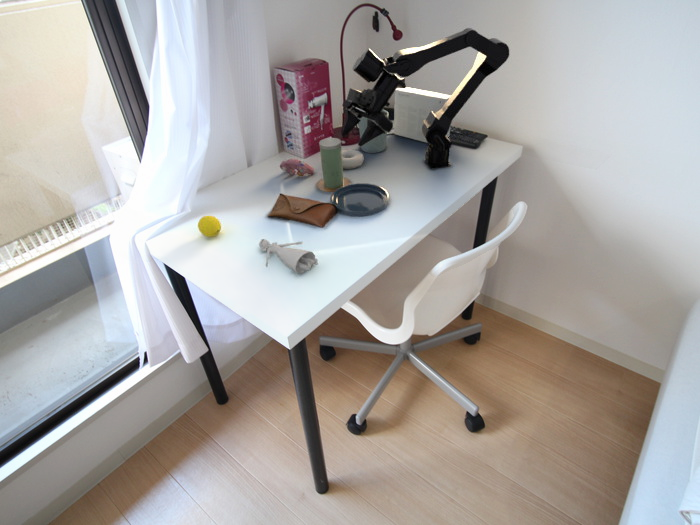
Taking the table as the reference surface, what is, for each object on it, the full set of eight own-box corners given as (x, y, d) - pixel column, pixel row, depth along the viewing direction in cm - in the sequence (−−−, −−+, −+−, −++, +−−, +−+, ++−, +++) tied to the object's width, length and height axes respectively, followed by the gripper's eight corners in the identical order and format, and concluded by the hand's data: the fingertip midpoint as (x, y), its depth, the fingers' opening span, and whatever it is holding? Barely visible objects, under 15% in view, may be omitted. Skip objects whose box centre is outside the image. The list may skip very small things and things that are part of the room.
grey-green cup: (357, 143, 154) (356, 109, 146) (385, 140, 154) (385, 107, 147) (361, 155, 145) (360, 119, 138) (391, 152, 146) (391, 116, 139)
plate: (380, 186, 127) (380, 179, 126) (395, 212, 115) (395, 206, 113) (327, 193, 125) (326, 187, 124) (336, 222, 113) (335, 215, 111)
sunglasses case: (264, 216, 116) (268, 191, 115) (278, 216, 122) (281, 193, 121) (324, 228, 110) (328, 202, 109) (335, 228, 116) (339, 203, 115)
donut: (362, 170, 136) (365, 157, 144) (362, 160, 134) (364, 147, 142) (331, 171, 137) (335, 157, 145) (330, 161, 135) (334, 147, 143)
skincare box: (450, 142, 150) (454, 95, 140) (441, 147, 147) (445, 99, 137) (402, 129, 162) (403, 85, 152) (393, 134, 159) (393, 89, 149)
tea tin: (342, 177, 132) (338, 136, 124) (346, 186, 127) (343, 144, 119) (322, 180, 131) (317, 139, 123) (325, 190, 126) (320, 147, 118)
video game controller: (283, 178, 138) (275, 164, 132) (288, 167, 140) (281, 152, 134) (311, 182, 135) (304, 168, 129) (316, 170, 137) (309, 156, 130)
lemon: (196, 235, 112) (190, 217, 108) (214, 226, 115) (208, 208, 111) (211, 244, 108) (205, 226, 104) (229, 235, 111) (224, 217, 107)
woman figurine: (292, 270, 90) (240, 246, 100) (296, 287, 92) (244, 262, 103) (330, 244, 97) (277, 224, 107) (332, 261, 99) (280, 239, 110)
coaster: (347, 176, 134) (346, 174, 133) (353, 190, 126) (353, 188, 125) (315, 180, 132) (314, 178, 132) (319, 195, 125) (319, 193, 124)
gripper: (345, 69, 122) (315, 117, 125) (383, 82, 109) (349, 135, 112) (369, 92, 130) (341, 136, 133) (407, 107, 117) (375, 156, 120)
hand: (350, 140), depth 124 cm, fingers open, 9 cm apart
